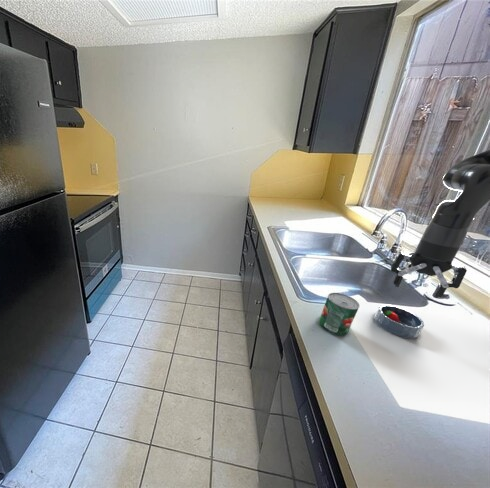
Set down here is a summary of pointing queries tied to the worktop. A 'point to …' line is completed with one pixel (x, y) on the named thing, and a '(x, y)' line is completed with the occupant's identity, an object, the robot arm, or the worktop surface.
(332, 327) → the canned tomato
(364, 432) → the worktop surface
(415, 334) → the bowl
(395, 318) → the strawberry
